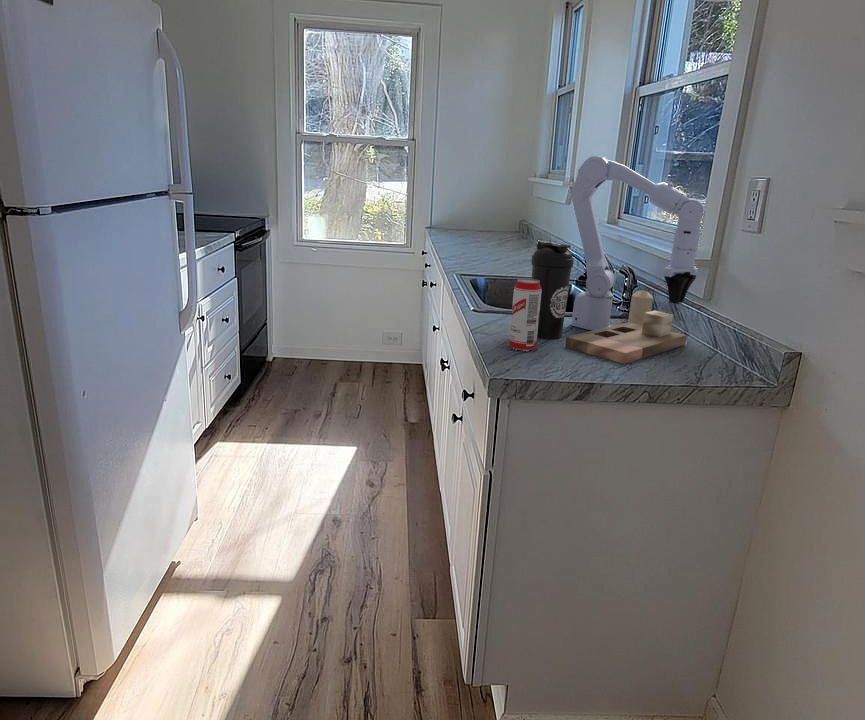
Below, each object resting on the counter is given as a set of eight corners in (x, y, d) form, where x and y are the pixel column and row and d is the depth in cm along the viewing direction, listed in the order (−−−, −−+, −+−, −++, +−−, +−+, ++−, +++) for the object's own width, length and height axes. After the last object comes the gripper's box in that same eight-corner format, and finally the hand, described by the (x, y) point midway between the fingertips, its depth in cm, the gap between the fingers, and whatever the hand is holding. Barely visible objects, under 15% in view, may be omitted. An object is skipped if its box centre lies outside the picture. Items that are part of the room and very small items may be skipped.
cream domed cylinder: (649, 330, 176) (655, 293, 173) (628, 328, 177) (633, 291, 174) (647, 325, 181) (652, 290, 178) (626, 323, 182) (631, 288, 179)
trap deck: (565, 347, 155) (566, 336, 154) (627, 331, 173) (629, 321, 173) (624, 363, 144) (626, 353, 143) (684, 344, 162) (686, 335, 162)
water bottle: (547, 342, 158) (557, 247, 151) (516, 332, 165) (524, 241, 159) (573, 336, 165) (584, 245, 158) (541, 327, 172) (550, 240, 165)
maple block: (641, 332, 162) (644, 312, 161) (651, 329, 166) (654, 310, 164) (660, 336, 159) (663, 316, 157) (670, 334, 162) (673, 314, 161)
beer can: (518, 353, 148) (525, 283, 143) (503, 346, 153) (509, 278, 148) (541, 351, 150) (548, 282, 146) (525, 343, 156) (531, 277, 151)
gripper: (686, 252, 154) (677, 308, 158) (713, 249, 164) (704, 302, 168) (658, 248, 159) (650, 303, 163) (686, 245, 168) (678, 297, 172)
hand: (675, 302), depth 165 cm, fingers closed
